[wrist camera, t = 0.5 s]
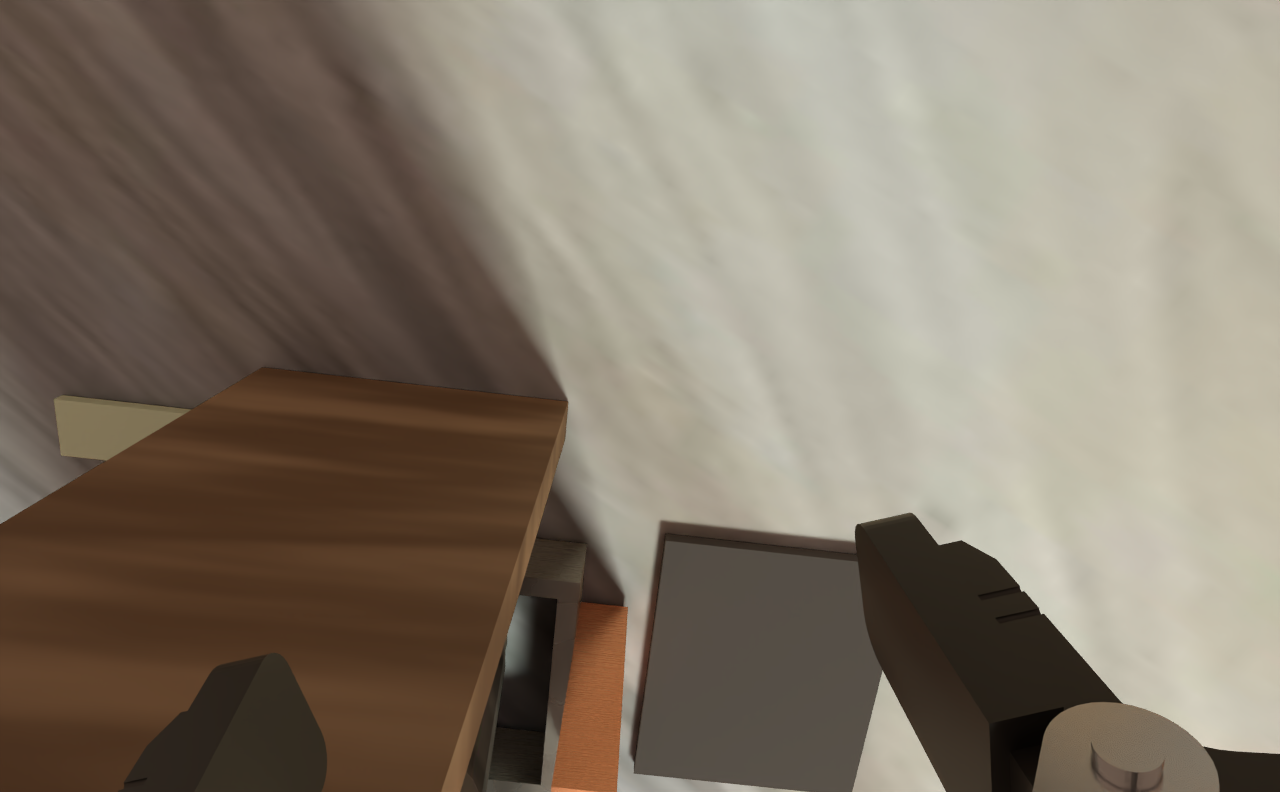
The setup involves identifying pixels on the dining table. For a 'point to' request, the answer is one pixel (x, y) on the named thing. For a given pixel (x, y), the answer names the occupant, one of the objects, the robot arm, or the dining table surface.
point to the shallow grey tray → (569, 687)
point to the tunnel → (279, 576)
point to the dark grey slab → (757, 667)
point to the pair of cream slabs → (106, 425)
